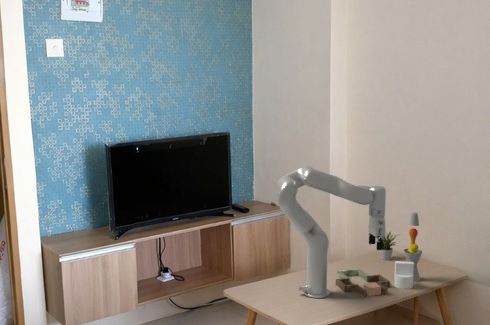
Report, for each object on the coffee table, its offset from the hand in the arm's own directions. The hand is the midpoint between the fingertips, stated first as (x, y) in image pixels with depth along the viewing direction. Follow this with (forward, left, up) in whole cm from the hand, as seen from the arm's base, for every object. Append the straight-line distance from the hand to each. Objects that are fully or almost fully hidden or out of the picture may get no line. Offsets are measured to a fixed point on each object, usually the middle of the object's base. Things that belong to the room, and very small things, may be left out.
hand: (375, 246), depth 275 cm
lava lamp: (+27, +11, -23) cm, 37 cm away
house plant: (+32, +44, -23) cm, 59 cm away
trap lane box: (-2, +10, -22) cm, 25 cm away
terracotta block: (-2, -1, -23) cm, 23 cm away
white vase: (+18, +4, -23) cm, 29 cm away
